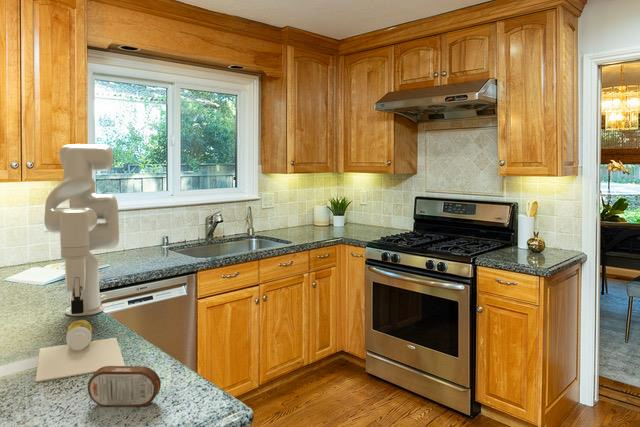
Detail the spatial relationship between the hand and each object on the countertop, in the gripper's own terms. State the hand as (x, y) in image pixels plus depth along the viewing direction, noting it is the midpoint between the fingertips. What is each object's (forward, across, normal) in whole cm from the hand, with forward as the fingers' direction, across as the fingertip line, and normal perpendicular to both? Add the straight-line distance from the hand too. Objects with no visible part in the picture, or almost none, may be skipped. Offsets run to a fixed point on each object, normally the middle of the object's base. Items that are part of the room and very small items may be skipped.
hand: (77, 312), depth 145 cm
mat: (+8, +16, 0) cm, 18 cm away
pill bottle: (+5, +1, 0) cm, 5 cm away
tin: (+9, +49, +8) cm, 51 cm away
